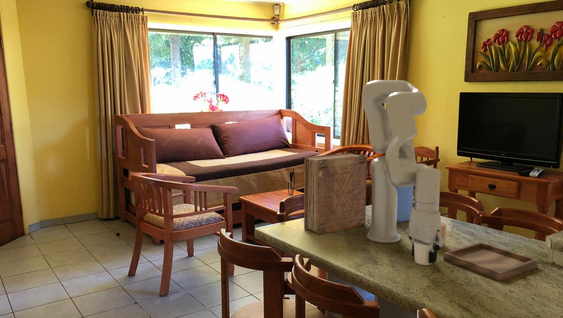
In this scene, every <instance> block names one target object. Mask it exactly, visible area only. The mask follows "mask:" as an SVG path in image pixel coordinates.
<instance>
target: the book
mask: <svg viewBox="0 0 563 318" xmlns="http://www.w3.org/2000/svg"><path fill="white" fill-rule="evenodd" d="M367 165H368V155H367V154H363V153H357V152H343V153H333V154H332V153H331V154H326V155H325V154H324V155H315V156H314V155H312V156H305V157H304V177H303V178H304V179H303V180H304V181H303V182H304V184H303V186H304V188H303V189H304V192H303V193H304V196H303V198H304V201H303V202H304V203H303V208H304V211H303V212H304V213H303V214H304V215H303V229H304V230H309V231H312V232H314V233H316V234H317V235H318V236H320V235H325V234H330V233H334V232H339V231H342V230H343V231H344V230H347V229H348V230H349V229H351V228H355V227H356V226H357V227H360V226H366V211H367V210H366V209H367V208H366V207H367V204H366V203H367V173H368V172H367V171H368V169H367V167H368V166H367Z"/></svg>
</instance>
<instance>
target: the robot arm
mask: <svg viewBox="0 0 563 318" xmlns="http://www.w3.org/2000/svg"><path fill="white" fill-rule="evenodd" d="M361 102H362V106H363V110H364V112H365V115H366V118H367V124H368V125H367V127H368V133H369V134H368V135H369V141H370V147H371V149H372V151H373V152H374V153H377V154H385V155H384V156H378V157H376V158H374V159H372V160H371V162H370V165H369V173H370V174H369V175H370V181H371V215H370V216H371V219H370V220H371V221H368V222H367V223H365V228H366V229H369V230H368V232H367V233H366V238H367V239H368V240H370V241H372V242H376V243H382V244H383V243H384V244H389V243H390V244H392V243H397V242H398V241H400V240H401V234H399V233H397V227H398V226H397V225H398V222H397V199H398V194H397V190H396V188H395V187H409V186H413V187H414V198H413V204H414V207H413V208H412V211H411V215H410V220H409V223H408V227H407V228H406V229H405V233H406V235H407V236H408V239H409V240H410V244H411V256H412V257H415V254H414V240H416V239H417V240H419V241H422V242H425V243H428V244H429V245H430V246H429V247H430V250H431V251H429V258H428V262H429V263H430V264H431V263H432V264H433V263H436V262H437V259H438V252H439V250H441V248H442V247H443V246H444V245H445V246H446V244H447V243H446V240H445V241H444V239H443V237H442V236H441V223H442V218H441V212H440V211H439V209H440V208H439V207H440V191H441V171H440V170H439V169H438V168H435V167H434V168H433V167H430V166H428V165H427V164H426V163H417V160H416V154H415V146H414V140H413V138H415V137H416V136H417V135H418V128H417V127H418V126H417V123H416V119H415V116H421V115H424V114H425V112H426V110H427V107H428V104H427V102H428V101H427V99H426V97H425V95H424V93H423V92H422V91H421V90H419V89H418V88H417V87H415V86H414V85H413V84H411V82H408V81H406V80H401V79H400V80H399V79H397V80H396V79H391V80H388V79H377V80H372V81H369V82H367V83H366V84H365V85H364V86H363V88H362V93H361ZM383 104H385V106H384V105H383ZM394 186H395V187H394ZM437 242H439V244H438V243H437ZM433 243H434V244H435V245H434V246H433ZM442 249H443V248H442ZM432 264H431V265H432Z"/></svg>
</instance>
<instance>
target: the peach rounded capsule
mask: <svg viewBox="0 0 563 318" xmlns="http://www.w3.org/2000/svg"><path fill="white" fill-rule="evenodd" d="M446 232H447V224H446V223H444V222H441V236H442V237H443V239H444V241H445V242H446V235H447V233H446ZM437 243H438V244H439V242H437ZM445 247H446V245H444V246H443V247H442V248H441V249H444V248H445ZM441 249H440V250H441Z"/></svg>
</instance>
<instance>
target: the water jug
mask: <svg viewBox="0 0 563 318" xmlns="http://www.w3.org/2000/svg"><path fill="white" fill-rule="evenodd" d="M394 187H395V186H394ZM395 188H396V190H397V194H398V199H397V223H402V222H408V221H409V220H410V215H411V211H412V208H414V207H413V204H414V203H413V200H414V186H409V187H395Z"/></svg>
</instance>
